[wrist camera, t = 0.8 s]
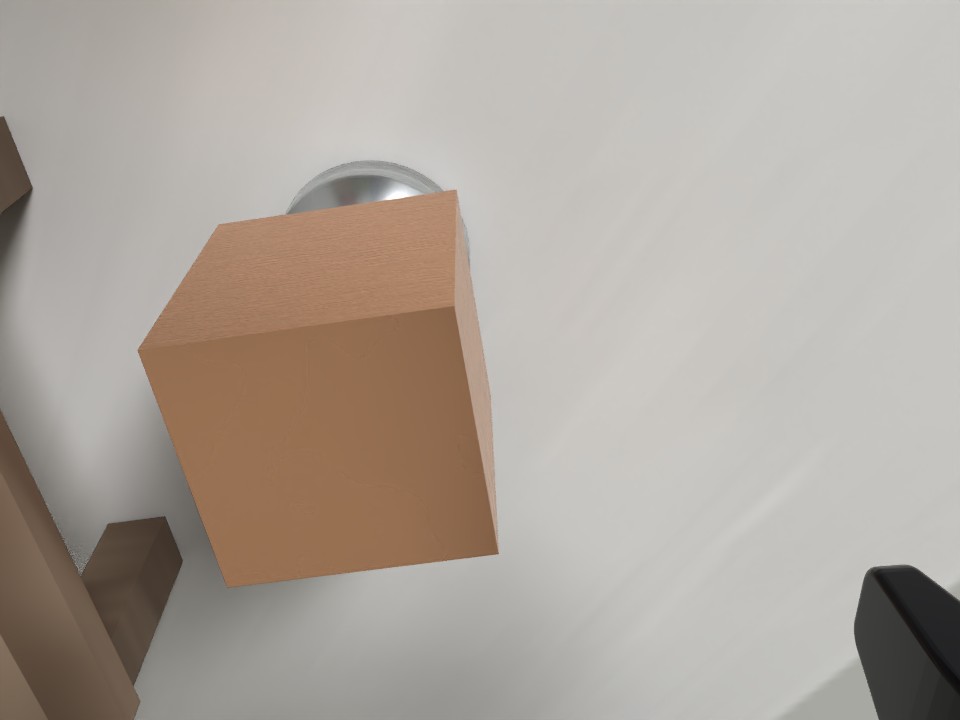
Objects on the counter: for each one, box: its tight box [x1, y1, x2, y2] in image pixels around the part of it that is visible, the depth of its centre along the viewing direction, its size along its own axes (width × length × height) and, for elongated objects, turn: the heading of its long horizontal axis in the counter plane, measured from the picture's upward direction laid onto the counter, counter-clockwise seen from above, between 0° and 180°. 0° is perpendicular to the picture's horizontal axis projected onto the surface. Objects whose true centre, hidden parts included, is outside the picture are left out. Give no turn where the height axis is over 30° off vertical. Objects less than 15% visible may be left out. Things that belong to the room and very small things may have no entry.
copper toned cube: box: [138, 161, 499, 588], centre depth 18 cm, size 5×5×8 cm
